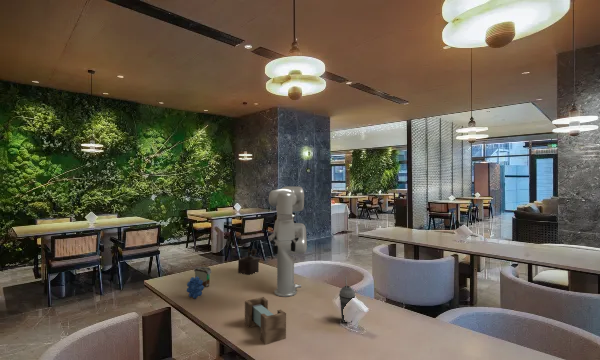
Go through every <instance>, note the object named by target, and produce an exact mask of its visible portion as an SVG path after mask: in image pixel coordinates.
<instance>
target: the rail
mask: <svg viewBox="0 0 600 360" xmlns="http://www.w3.org/2000/svg"><path fill="white" fill-rule="evenodd" d="M261 314H266V315H267V316H270V315H275V314H274V313H273V312H271V311H270V310H269V309H268V310H267V309H266V308H265V307H263V306H262V305H261V304H259V305H254V306H252V320H253V321H254V322H255V323H256V324H257V326H259V328H261Z"/></svg>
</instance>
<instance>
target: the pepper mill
mask: <svg viewBox="0 0 600 360" xmlns="http://www.w3.org/2000/svg"><path fill="white" fill-rule="evenodd" d="M250 250H251V251H250ZM257 252H258V250H257V249H256V248H251V249H250V248H247V255H245V256H244V257H242V258H239V259H238V261H237V263H238V264H237V268H238V271H237V273H238V274H241V273H242V275H246V276H251V275H253V273H254V274H256V273H255V272H257V273H259V267H260V265H259V263H260V262H259V261H260V260H259V259H260V258H256V255H257ZM250 254H251V255H250ZM250 274H251V275H250Z"/></svg>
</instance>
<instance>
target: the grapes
mask: <svg viewBox="0 0 600 360" xmlns="http://www.w3.org/2000/svg"><path fill="white" fill-rule="evenodd" d="M202 283H203V281H202V280H199V277H195V276H193V277H190V279H189V281H187V283H186V286H187V288H186V292H187V293H188V296H189V297H190V298H193V299H194V300H196V299H197V298H198V297H200V296H202V294H203V290H204V289H205V287H204V286H203V285H202Z"/></svg>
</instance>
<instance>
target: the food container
mask: <svg viewBox="0 0 600 360" xmlns="http://www.w3.org/2000/svg"><path fill="white" fill-rule="evenodd" d="M193 272H194V278H195V277H199V280H202V281H203V283H202V285H203V286H204V288H208V287H209V286H210V281H211V274H212V269H211V267H207V266H198V267H195V268H194V271H193Z"/></svg>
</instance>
